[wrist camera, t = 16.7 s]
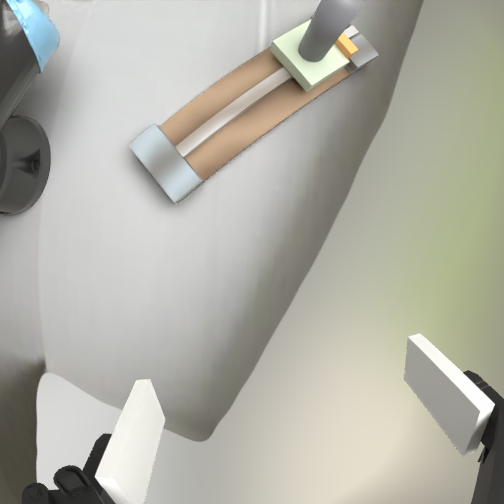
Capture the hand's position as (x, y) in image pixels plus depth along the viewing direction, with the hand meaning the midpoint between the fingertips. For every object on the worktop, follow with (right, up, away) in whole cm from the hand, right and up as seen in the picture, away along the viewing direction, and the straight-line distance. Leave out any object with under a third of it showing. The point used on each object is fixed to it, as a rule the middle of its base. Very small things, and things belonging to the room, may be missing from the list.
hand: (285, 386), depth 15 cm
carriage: (+5, +30, +19) cm, 36 cm away
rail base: (-1, +26, +24) cm, 35 cm away
